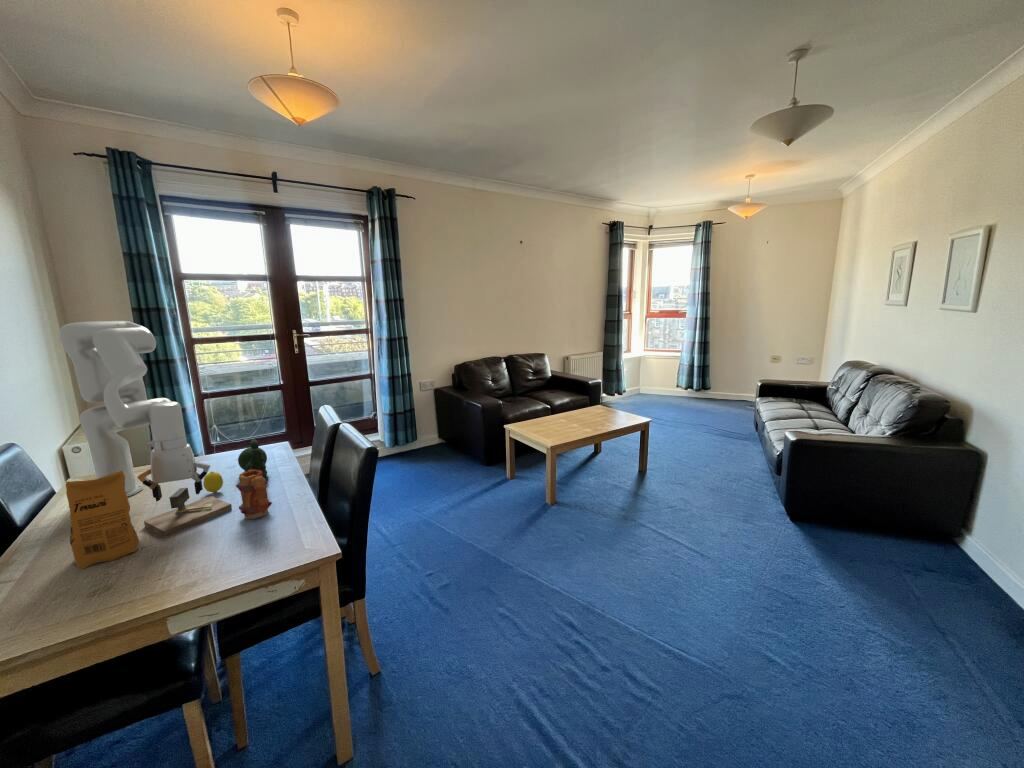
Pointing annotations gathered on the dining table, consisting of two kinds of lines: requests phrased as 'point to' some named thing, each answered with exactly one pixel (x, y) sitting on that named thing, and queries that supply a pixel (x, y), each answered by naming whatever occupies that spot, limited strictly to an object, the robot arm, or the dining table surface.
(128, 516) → the coffee package
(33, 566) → the dining table surface
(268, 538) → the dining table surface
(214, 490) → the lemon
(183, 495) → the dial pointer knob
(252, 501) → the orange lumpy cylinder
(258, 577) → the dining table surface
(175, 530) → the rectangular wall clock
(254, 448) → the toy figurine
